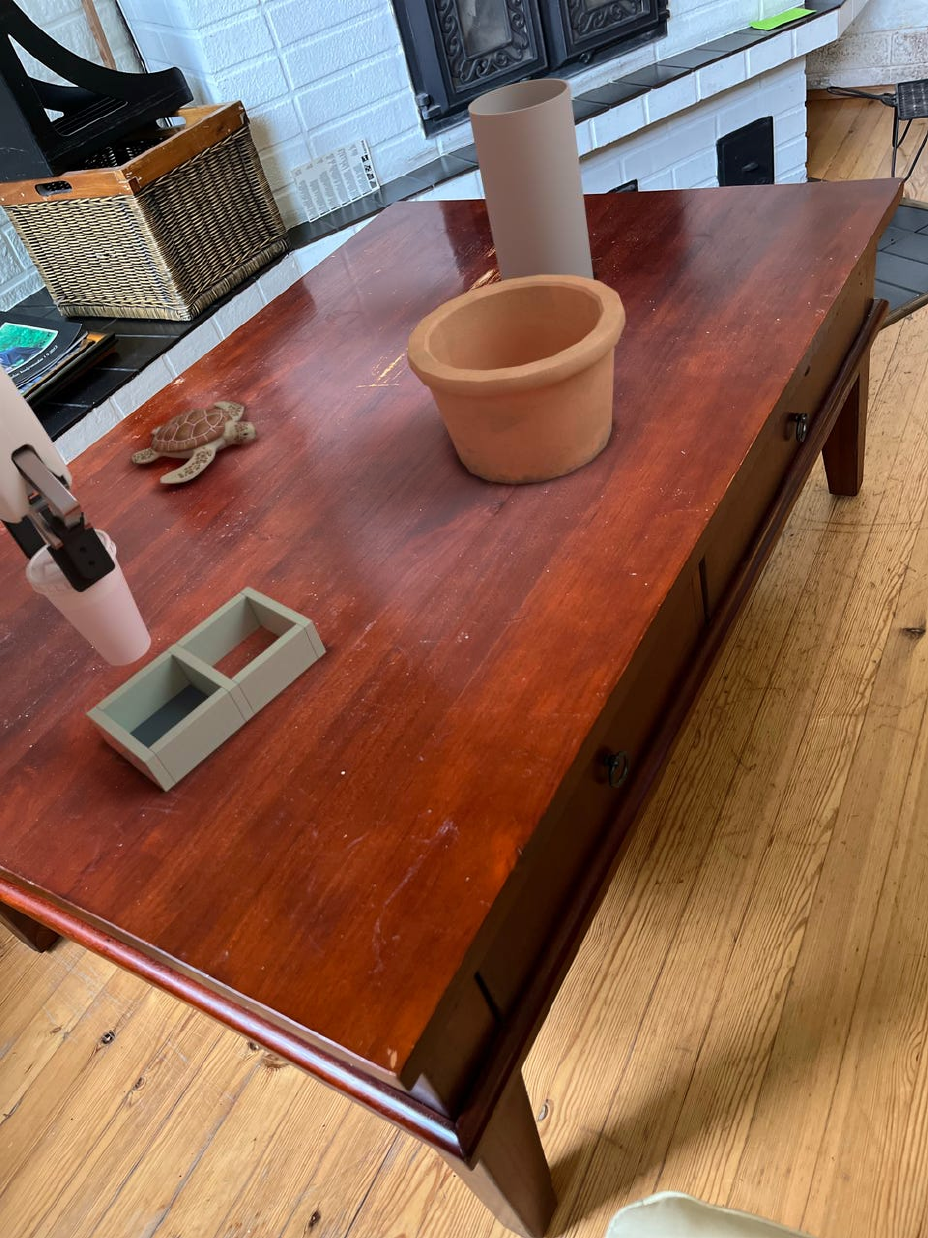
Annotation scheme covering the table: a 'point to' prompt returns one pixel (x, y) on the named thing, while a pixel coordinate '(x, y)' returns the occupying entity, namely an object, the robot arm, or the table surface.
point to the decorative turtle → (197, 438)
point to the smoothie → (95, 606)
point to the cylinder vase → (532, 179)
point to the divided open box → (204, 688)
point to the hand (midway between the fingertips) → (71, 562)
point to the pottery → (523, 373)
